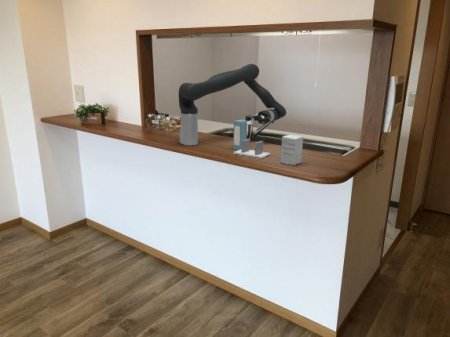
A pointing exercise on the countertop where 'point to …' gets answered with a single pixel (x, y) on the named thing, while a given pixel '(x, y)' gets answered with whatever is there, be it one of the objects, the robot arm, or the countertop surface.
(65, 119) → the countertop surface
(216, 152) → the countertop surface
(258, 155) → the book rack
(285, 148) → the supplement box
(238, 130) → the book
